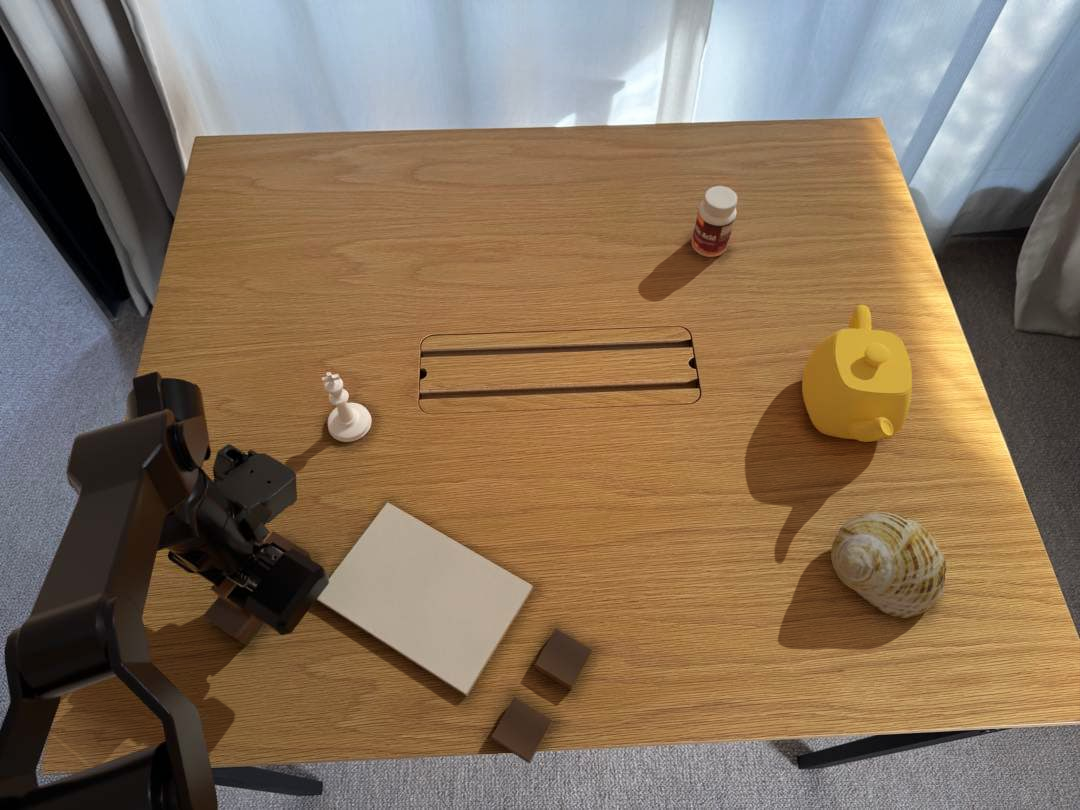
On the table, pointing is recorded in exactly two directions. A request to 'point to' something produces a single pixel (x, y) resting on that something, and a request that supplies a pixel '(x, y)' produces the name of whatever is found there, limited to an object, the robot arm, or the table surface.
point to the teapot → (858, 382)
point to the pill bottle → (715, 221)
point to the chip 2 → (563, 659)
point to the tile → (426, 597)
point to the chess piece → (345, 412)
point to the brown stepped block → (230, 613)
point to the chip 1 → (522, 730)
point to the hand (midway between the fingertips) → (255, 582)
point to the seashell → (890, 563)
